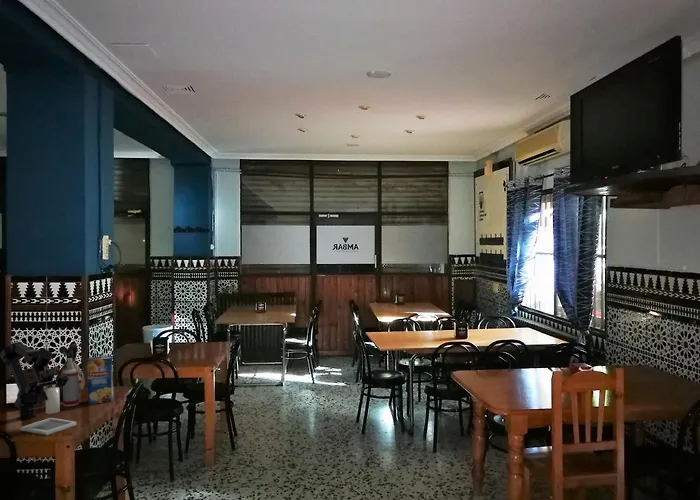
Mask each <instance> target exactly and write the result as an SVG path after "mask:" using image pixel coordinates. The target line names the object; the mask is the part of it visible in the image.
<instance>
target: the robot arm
mask: <svg viewBox="0 0 700 500" xmlns="http://www.w3.org/2000/svg"><path fill="white" fill-rule="evenodd" d="M53 355H54V354H53V353H52V352H51V350H47V349H46V348H41V349H32V348H30V347H29V346H27V345H25V344H24V343H23V342H21V341H17V342H12V343H10V344H9V345H8V346H6V347H4V348H3V349H2V351H1V352H0V359H1V360H2V363H3V364H5V365H6V366H8V367H9V369H10V371H11V374H12V377H13V379H14V382H15V384H16V387H17V390H18V392H17V394H16V399H15V401H14V407H15V408H17V409H19V410H18V414H19V416H17V417H16V419H18V420H22V421H25V420H28V419H31V418H36V417H37V415H35V414H34V412H35V411H34V408H33V405H34V404H37V400H38V396H40V397H42V398H43V399H44V401H45V400H48V398H47V395H46V393H45V389H44V390H43V387H44V388H45V387H48V386H50V385H52V386H54V387H59V396H60V397H61V387H62V386H65V385H66V383H67V381H68V380H69V378H68V376H67V375H63V376H59V377H58V379H57V380H56V379H55V375H56V376H57V374H58V373H59V372H60V368H59V366H58V365H56V366H54V367H52V368H47V366H48V365H49V364H50V362H51V360H52V359H53ZM21 357H23V358H24V362H26V364H28V365H30V364H32V365H31V371H34V373H35V375H36V378H35V379H36V380H38V382H37V381H33V382H29V383H28V382H27V379H26V377H25V374H24V372H23V370H24V369H23V367H22V365H21V363H20V360H21ZM54 379H55V380H54Z"/></svg>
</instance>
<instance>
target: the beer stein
mask: <svg viewBox="0 0 700 500" xmlns="http://www.w3.org/2000/svg"><path fill="white" fill-rule="evenodd" d="M31 368H32V367H31ZM31 368H25V369H23V372H24V374H25V377H26V379H27V382H28V383H29V382H33V381H37V382H38V380H36V379H35V378H36V375H35V373H34V371H31ZM51 387H53V385H50V386H47V388H51ZM43 390H44V391H45V387H43ZM44 405H45V399H43V398H42V397H40V396H38V400H37V404H34V405H33V409H35V408H39V407H42V406H44Z"/></svg>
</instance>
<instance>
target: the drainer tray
mask: <svg viewBox="0 0 700 500" xmlns="http://www.w3.org/2000/svg"><path fill="white" fill-rule="evenodd" d="M74 426H77V421H76V420H75V421H73V420H67V419H61V418H56V417H55V418H54V417H49V418H45V419H43V420H39V421H36V422H32V423H30V424H27V425H22V426H20V428H19V429H20V430H19V431H22V432H25V431H26V433H32V434H36V435H42V436H48V435H52V434H55V433H57V432H60V431H63V430H66V429H70V428H73V427H74Z"/></svg>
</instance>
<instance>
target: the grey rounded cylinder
mask: <svg viewBox="0 0 700 500" xmlns="http://www.w3.org/2000/svg"><path fill="white" fill-rule="evenodd" d="M44 392H45V393H46V395H47V398H48V400H45V399H44V404H45V414H50V415H51V414H56V413H59V412H60V411H61V402H60V401H61V399H60V396H59V387H55V386H52V387H51V388H48V387H46V388H44Z"/></svg>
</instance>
